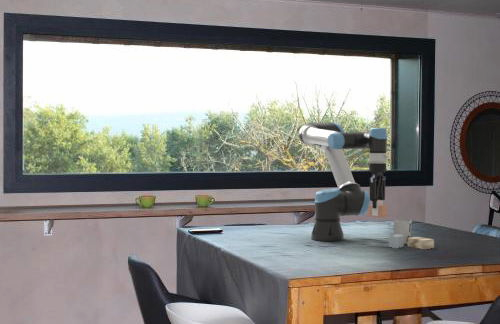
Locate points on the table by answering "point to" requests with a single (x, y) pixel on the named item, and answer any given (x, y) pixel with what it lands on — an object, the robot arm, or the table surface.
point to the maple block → (421, 242)
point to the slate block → (396, 241)
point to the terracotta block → (379, 211)
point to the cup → (402, 228)
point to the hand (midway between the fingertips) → (377, 215)
